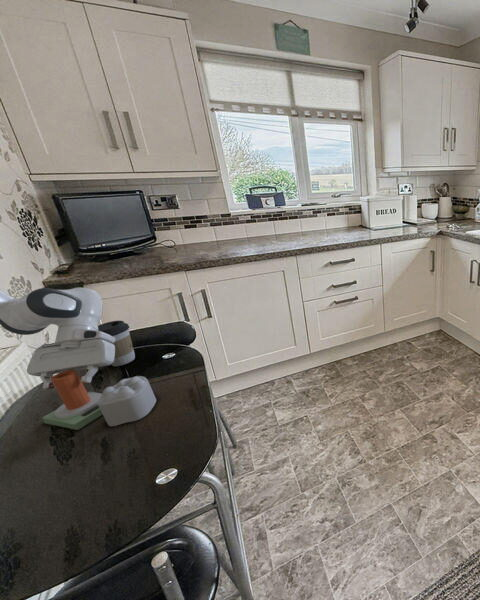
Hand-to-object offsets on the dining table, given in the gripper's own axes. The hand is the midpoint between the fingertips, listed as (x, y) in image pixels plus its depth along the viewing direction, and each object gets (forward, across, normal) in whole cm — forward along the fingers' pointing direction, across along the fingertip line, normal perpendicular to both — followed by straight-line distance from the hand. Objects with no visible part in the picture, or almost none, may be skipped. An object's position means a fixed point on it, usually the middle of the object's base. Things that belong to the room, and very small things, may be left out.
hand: (67, 385), depth 92 cm
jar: (+4, 0, +5) cm, 7 cm away
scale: (+7, +1, +7) cm, 10 cm away
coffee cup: (-16, -6, +29) cm, 34 cm away
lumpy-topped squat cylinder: (+9, +16, +5) cm, 19 cm away
